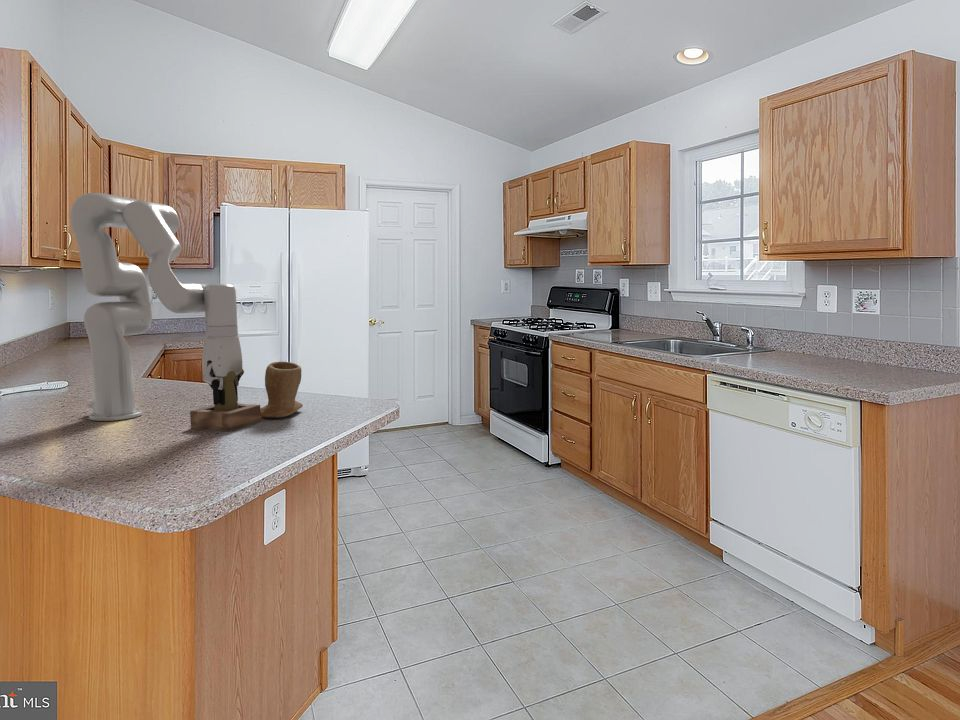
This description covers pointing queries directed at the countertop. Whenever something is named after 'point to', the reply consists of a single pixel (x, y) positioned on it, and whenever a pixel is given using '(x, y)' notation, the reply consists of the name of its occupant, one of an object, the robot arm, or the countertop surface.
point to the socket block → (225, 417)
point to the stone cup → (281, 389)
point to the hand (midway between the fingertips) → (225, 402)
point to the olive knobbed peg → (228, 394)
